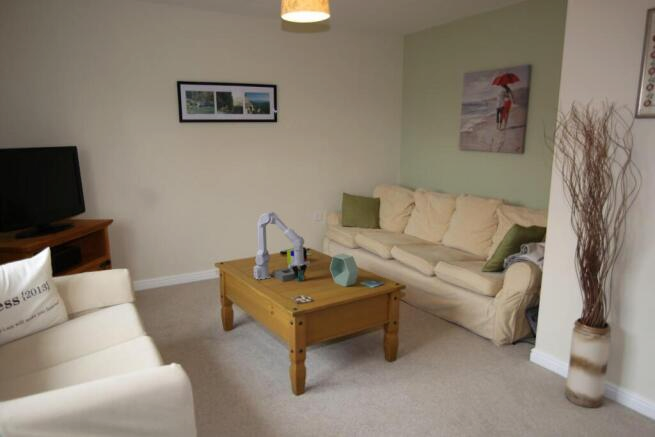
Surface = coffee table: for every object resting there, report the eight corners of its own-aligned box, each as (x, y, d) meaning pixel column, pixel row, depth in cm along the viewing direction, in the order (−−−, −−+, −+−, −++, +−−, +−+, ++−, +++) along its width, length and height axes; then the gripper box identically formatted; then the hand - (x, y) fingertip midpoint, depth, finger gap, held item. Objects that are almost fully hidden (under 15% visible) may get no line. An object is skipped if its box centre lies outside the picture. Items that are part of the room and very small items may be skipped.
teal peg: (298, 281, 296) (298, 271, 295) (295, 280, 299) (295, 269, 298) (303, 280, 298) (303, 270, 297) (300, 279, 301) (300, 268, 300)
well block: (282, 281, 297) (282, 275, 296) (273, 276, 309) (272, 270, 308) (302, 277, 304) (301, 271, 304) (291, 272, 316) (291, 267, 315)
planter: (338, 291, 291) (326, 260, 297) (347, 288, 296) (335, 258, 302) (352, 282, 279) (340, 250, 284) (362, 279, 283) (349, 248, 289)
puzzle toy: (298, 266, 331) (297, 252, 330) (287, 264, 337) (286, 250, 336) (307, 262, 339) (306, 249, 337) (296, 260, 345) (296, 247, 343)
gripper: (291, 259, 289) (292, 280, 291) (311, 255, 296) (312, 276, 299) (286, 257, 295) (287, 277, 297) (306, 253, 302) (307, 273, 305)
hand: (299, 277), depth 298 cm, fingers closed on teal peg, 4 cm apart
